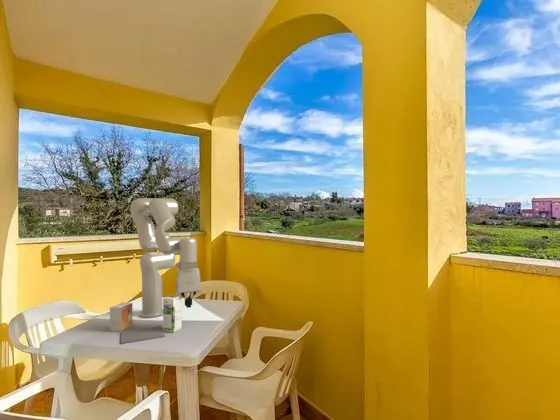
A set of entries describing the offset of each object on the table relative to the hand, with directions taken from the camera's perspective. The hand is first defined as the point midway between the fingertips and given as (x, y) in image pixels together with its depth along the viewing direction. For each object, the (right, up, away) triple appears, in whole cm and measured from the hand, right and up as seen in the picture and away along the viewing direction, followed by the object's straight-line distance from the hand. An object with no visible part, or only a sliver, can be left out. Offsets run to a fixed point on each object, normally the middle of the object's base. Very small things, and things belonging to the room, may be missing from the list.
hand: (188, 306), depth 143 cm
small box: (-30, -10, 0) cm, 31 cm away
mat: (-17, -9, -9) cm, 21 cm away
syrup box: (-6, -9, -3) cm, 12 cm away
